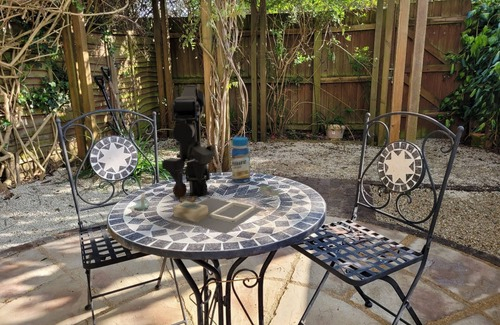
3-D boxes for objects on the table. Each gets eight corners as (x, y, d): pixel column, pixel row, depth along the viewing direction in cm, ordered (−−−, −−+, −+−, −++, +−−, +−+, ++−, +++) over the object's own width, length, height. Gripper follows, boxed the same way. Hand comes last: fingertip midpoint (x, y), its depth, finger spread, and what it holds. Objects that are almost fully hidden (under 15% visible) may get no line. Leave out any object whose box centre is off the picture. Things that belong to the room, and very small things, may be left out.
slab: (173, 216, 115) (173, 206, 114) (186, 210, 120) (185, 200, 119) (196, 222, 110) (196, 211, 109) (208, 215, 115) (207, 205, 114)
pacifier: (129, 214, 120) (147, 212, 120) (127, 197, 118) (145, 196, 119) (134, 206, 127) (150, 205, 127) (132, 190, 125) (148, 189, 126)
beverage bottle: (253, 180, 154) (252, 136, 149) (245, 186, 147) (244, 140, 142) (236, 178, 158) (235, 135, 153) (228, 184, 150) (226, 139, 145)
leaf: (283, 209, 125) (283, 206, 124) (262, 208, 124) (262, 206, 124) (277, 188, 144) (277, 186, 143) (259, 188, 143) (259, 185, 143)
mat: (167, 219, 114) (167, 214, 114) (209, 199, 132) (208, 194, 132) (226, 235, 102) (225, 229, 101) (263, 210, 120) (262, 205, 119)
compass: (186, 206, 126) (185, 187, 124) (173, 201, 130) (171, 183, 129) (202, 199, 132) (201, 181, 130) (188, 195, 136) (187, 178, 135)
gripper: (187, 144, 97) (190, 196, 100) (225, 135, 112) (227, 181, 116) (158, 141, 103) (162, 191, 106) (198, 134, 118) (201, 177, 121)
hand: (190, 185), depth 112 cm, fingers open, 9 cm apart
